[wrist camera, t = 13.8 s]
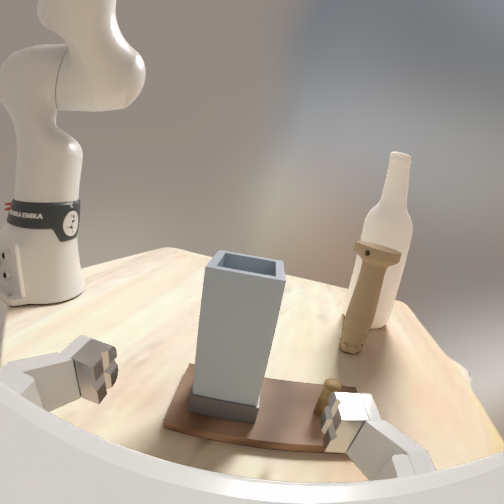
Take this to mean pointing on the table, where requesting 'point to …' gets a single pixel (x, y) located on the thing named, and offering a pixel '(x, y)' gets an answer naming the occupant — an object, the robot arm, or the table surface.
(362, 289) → the handle
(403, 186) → the alcohol
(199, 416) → the pin board
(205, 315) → the sleeve
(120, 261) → the table surface
